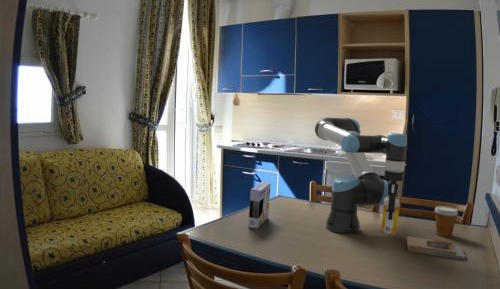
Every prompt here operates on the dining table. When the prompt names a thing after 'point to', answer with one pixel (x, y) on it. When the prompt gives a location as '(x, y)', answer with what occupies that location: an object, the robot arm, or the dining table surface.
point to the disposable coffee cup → (445, 220)
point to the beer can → (386, 229)
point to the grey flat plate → (458, 254)
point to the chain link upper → (421, 244)
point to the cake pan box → (259, 204)
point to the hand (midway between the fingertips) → (389, 224)
